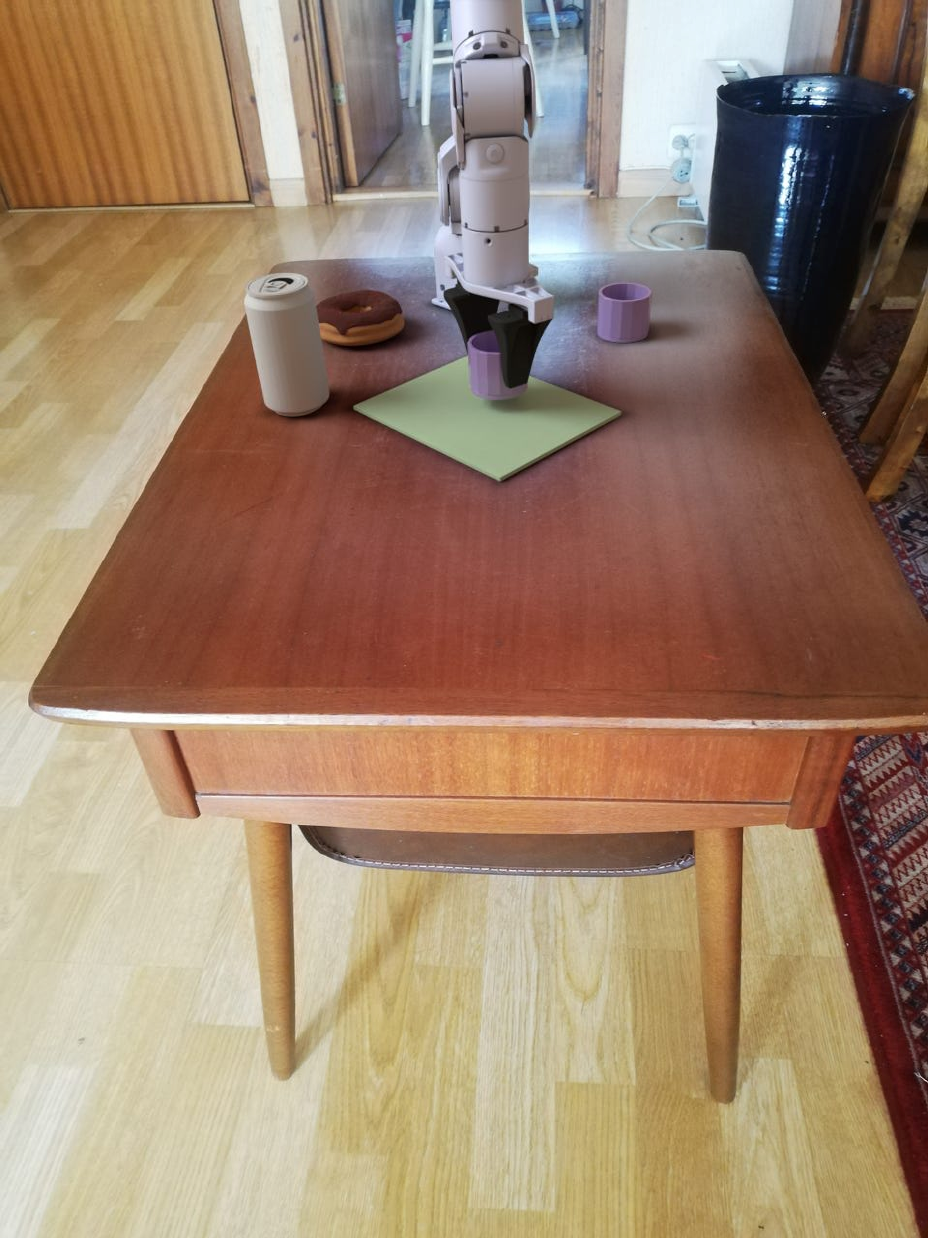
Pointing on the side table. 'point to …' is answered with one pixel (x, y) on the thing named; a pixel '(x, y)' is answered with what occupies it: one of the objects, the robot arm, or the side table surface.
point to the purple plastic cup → (488, 369)
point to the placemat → (486, 419)
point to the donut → (359, 318)
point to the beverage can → (287, 343)
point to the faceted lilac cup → (623, 312)
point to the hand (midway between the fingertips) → (498, 373)
